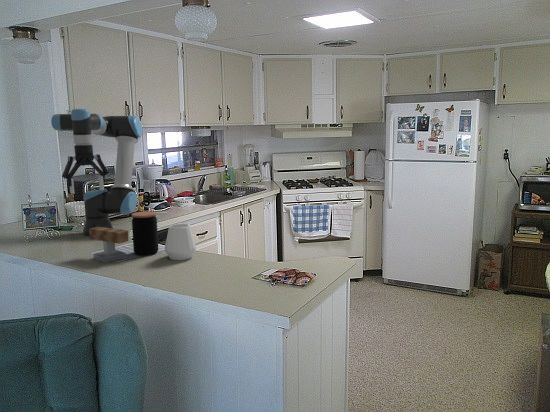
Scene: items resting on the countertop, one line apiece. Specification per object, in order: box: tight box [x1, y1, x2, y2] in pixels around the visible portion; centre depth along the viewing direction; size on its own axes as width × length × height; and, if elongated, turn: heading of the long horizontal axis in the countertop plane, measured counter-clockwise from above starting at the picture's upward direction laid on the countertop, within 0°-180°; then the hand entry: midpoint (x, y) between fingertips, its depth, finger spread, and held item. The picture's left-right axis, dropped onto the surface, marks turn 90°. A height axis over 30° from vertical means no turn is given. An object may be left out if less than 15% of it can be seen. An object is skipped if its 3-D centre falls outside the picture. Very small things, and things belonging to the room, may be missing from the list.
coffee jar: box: [131, 211, 159, 257], centre depth 203 cm, size 11×11×18 cm
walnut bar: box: [89, 227, 129, 244], centre depth 195 cm, size 18×5×4 cm, turn 60°
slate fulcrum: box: [93, 241, 127, 264], centre depth 196 cm, size 10×10×8 cm
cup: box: [164, 223, 197, 261], centre depth 196 cm, size 13×13×14 cm
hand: (87, 191), depth 207 cm, fingers open, 13 cm apart
